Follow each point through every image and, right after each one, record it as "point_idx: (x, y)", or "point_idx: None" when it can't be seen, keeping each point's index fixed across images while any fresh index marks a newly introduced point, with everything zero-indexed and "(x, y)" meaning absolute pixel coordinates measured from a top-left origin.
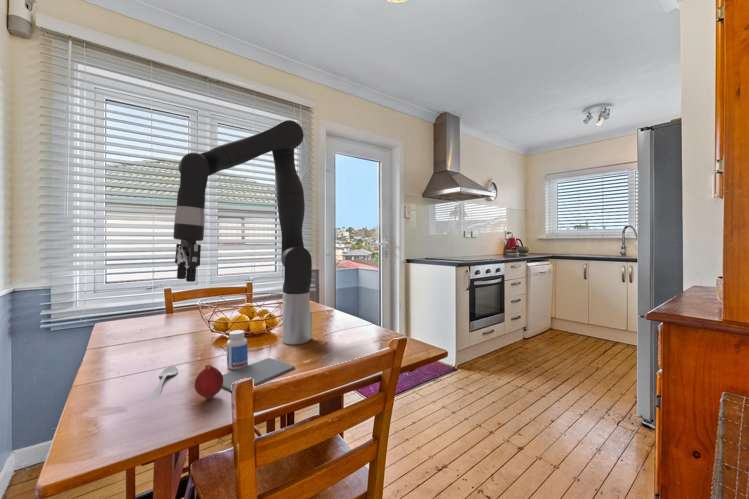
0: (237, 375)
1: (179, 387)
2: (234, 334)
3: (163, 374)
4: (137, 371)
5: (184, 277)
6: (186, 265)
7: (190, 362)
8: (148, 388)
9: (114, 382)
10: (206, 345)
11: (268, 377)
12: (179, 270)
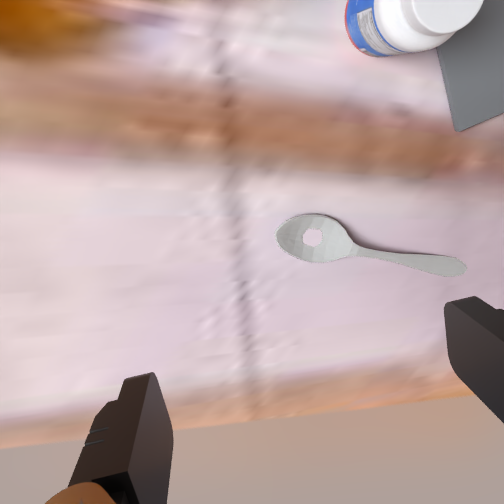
0: (486, 41)
1: (431, 211)
2: (477, 11)
3: (309, 251)
4: (232, 316)
5: (153, 386)
6: (97, 486)
7: (237, 172)
8: (384, 281)
9: (287, 357)
10: (37, 92)
11: None
12: (160, 495)
